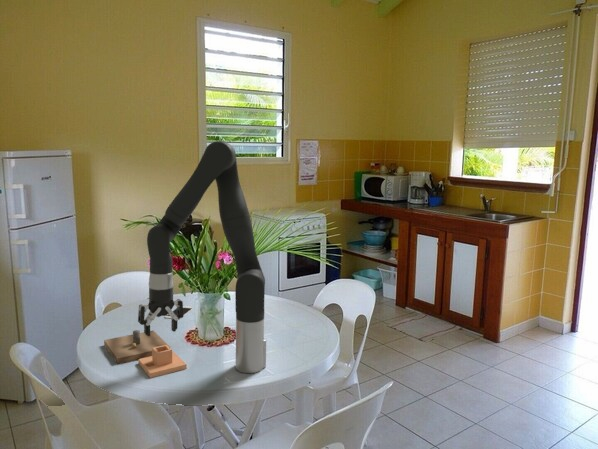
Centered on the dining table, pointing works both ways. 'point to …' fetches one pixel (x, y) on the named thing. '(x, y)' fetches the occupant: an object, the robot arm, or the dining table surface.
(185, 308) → the smartphone
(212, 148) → the robot arm
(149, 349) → the post base
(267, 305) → the dining table surface
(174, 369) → the flange plate
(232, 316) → the dining table surface
